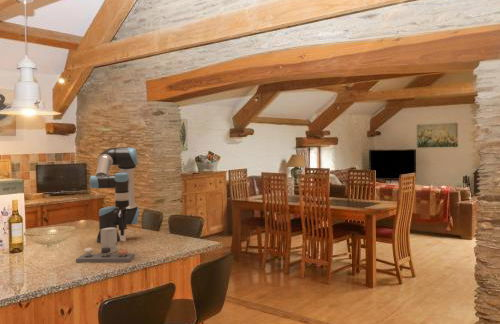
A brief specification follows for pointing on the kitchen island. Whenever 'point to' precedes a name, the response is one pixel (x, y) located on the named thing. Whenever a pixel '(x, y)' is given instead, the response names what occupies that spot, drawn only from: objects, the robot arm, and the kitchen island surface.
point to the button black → (105, 251)
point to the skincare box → (109, 239)
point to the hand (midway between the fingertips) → (123, 240)
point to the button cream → (88, 251)
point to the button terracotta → (123, 252)
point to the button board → (105, 258)
